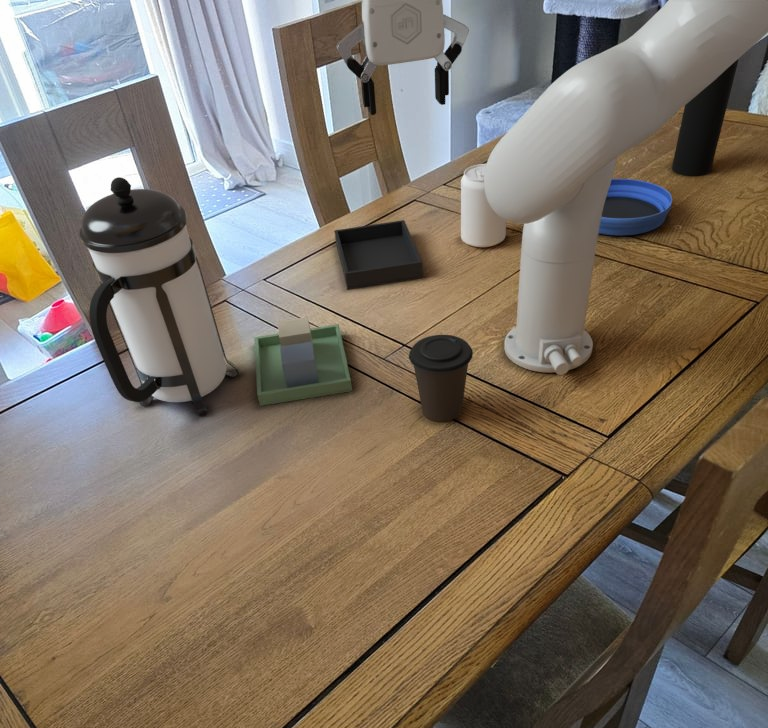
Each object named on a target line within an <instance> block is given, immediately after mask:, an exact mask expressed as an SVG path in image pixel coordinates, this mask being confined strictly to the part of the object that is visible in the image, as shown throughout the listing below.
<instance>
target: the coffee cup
mask: <svg viewBox="0 0 768 728" xmlns="http://www.w3.org/2000/svg"><path fill="white" fill-rule="evenodd" d="M473 354H474V351H473V349H472V347H471V345H470V344H469V343H468V342H467V341H466V340H465V339H463V338H461V337H459V336H456V335H451V334H434V335H429V336H427V337H426V336H425V337H424V338H421V339H419V340H418V341H417V342H415V344H413V345H412V348H410V350H409V353H408V359H409V362H410V364H412V365H413V370H414V374H415V380H416V385H417V390H418V396H419V400H420V407H421V411H422V414H423V416H424V417H425V418H426V419H428V420H429V421H432V422H435V423H436V422H437V423H446V422H452V421H454V420H455V419H457V418H458V417H459V416H460V415H462V414H461V413H462V411H463V404H464V399H465V390H466V382H467V375H468V368H469V364H470V362H471V360H472V359H473V357H474V355H473Z"/></svg>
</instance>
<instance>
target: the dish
mask: <svg viewBox="0 0 768 728" xmlns="http://www.w3.org/2000/svg"><path fill="white" fill-rule="evenodd" d="M310 331H311V337H312V342H313V349H314V355H315V362H316V367H317V374H318V380H319V383H315V384H309V385H303V386H297V387H291V388H287V386H286V381H285V377H284V372H283V368H282V361H281V351H280V347H281V344H280V339H279V333H273V334H266V335H260V336H254V337H253V338H254V358H255V376H256V377H255V379H256V396H257V400H258V403H259V407H261V406H269V405H274V404H281V403H287V402H292V401H298V400H304V399H305V400H306V399H311V398H318V397H324V396H331V395H337V394H343V393H349V392H353V386H352V379H351V374H350V369H349V365H348V361H347V360H348V359H347V355H346V351H345V347H344V343H343V337H342V333H341V329H340V324H339V323H337V324H336V323H335V324H330V325H323V326H318V327H317V326H316V327H310Z"/></svg>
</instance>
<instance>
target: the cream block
mask: <svg viewBox="0 0 768 728" xmlns="http://www.w3.org/2000/svg"><path fill="white" fill-rule="evenodd" d="M310 329H311V326H310V321H309V316H304V317H303V316H302V317H296V318H291V319H284V320H278V321H277V330H278V334H279V339H280V344H281V346H287V345H294V344H300V343H307V342H312V337H311V331H310ZM312 345H313V342H312ZM313 351H314V349H313ZM314 356H315V355H314Z"/></svg>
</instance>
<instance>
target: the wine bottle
mask: <svg viewBox="0 0 768 728" xmlns="http://www.w3.org/2000/svg"><path fill="white" fill-rule="evenodd" d="M738 64H739V58H738V59H737V60H736V61H735V62H734V63H733V64H732V65H731V66H729V67H728V68H727V69H726V70H725V71H724V72H723V73H722V74H721V75H720V76H719V77H717V78H716V79H715V80H714V81H713V82H712V83H711V84H710V85H708V86H707V87H706V88H705V89H704V90H702V91H701V92H700V93H699V94H698V95H697V96H695V97H694V98H693V99H692V100H691V101H690V102H688V103H687V104H686V105H685V106H684V107H683V113H682V118H681V122H680V127H679V130H678V137H677V140H676V146H675V149H674V150H675V151H674V156H673V161H672V165H671V169H672V171H673V173H675V174H678V175H679V176H680V175H681V176H684V177H685V176H686V177H687V176H688V177H700V176H704V175H707V174H709V173H711V171H712V168H713V164H714V160H715V156H716V152H717V148H718V144H719V140H720V137H721V132H722V128H723V124H724V120H725V117H726V113H727V109H728V103H729V101H730V96H731V91H732V87H733V84H734V80H735V76H736V71H737V68H738Z"/></svg>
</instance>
